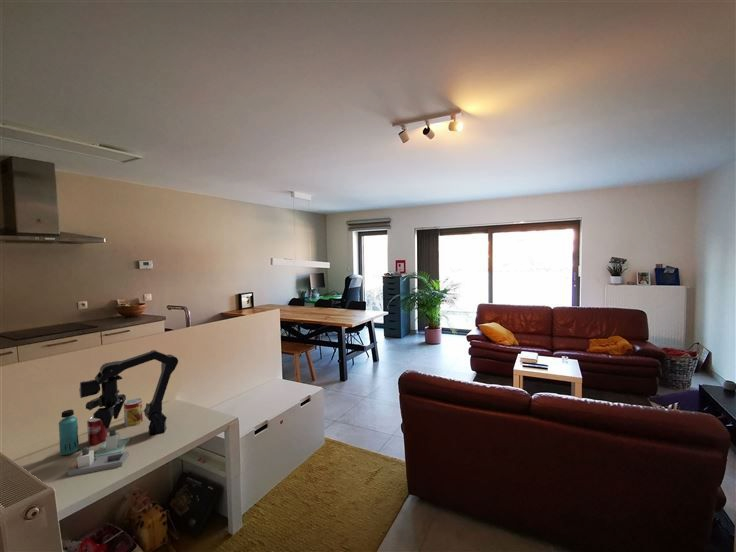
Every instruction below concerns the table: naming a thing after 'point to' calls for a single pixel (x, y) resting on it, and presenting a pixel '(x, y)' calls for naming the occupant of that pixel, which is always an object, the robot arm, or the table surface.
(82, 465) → the twin plug
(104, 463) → the pdu strip
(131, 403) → the canned food
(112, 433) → the plug
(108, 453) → the tray
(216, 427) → the table surface
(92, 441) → the soda can
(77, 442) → the beverage bottle
